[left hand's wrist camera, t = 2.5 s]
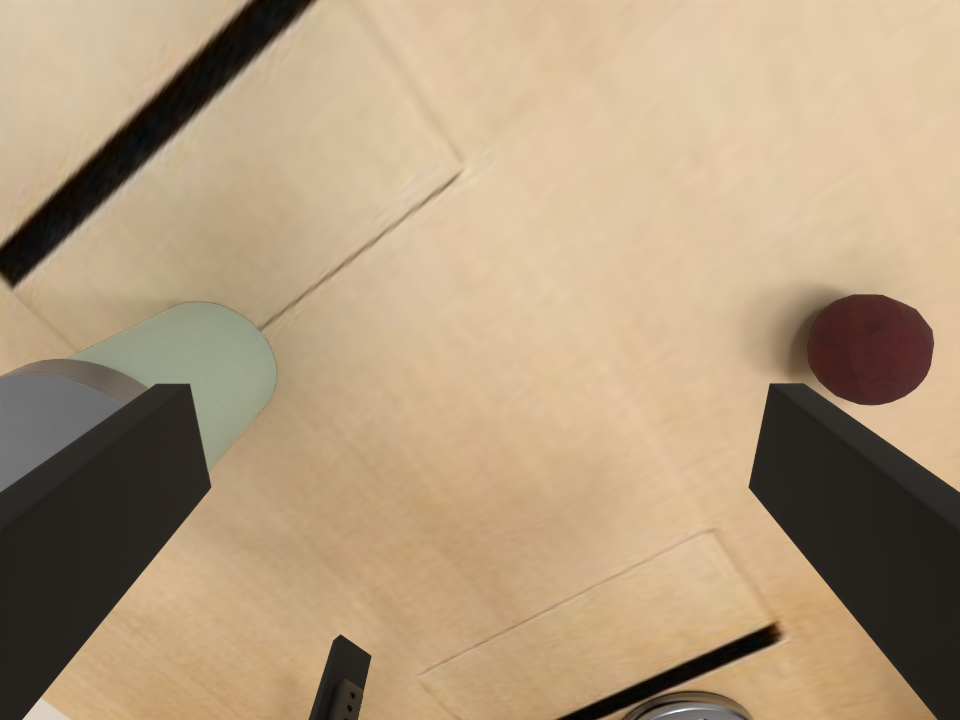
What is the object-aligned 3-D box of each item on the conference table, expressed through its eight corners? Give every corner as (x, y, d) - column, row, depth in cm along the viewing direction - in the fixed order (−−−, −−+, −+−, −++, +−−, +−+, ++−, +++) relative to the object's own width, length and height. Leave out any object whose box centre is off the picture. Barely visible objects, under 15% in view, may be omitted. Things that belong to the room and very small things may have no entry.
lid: (240, 451, 29) (222, 473, 27) (132, 577, 32) (109, 604, 30) (41, 313, 26) (6, 325, 24) (-56, 463, 29) (-96, 486, 27)
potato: (809, 396, 43) (869, 440, 36) (770, 317, 40) (827, 348, 34) (901, 347, 41) (981, 383, 35) (866, 262, 39) (945, 284, 32)
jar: (303, 361, 42) (210, 469, 27) (229, 448, 44) (109, 587, 30) (188, 273, 39) (20, 340, 25) (118, 370, 42) (-71, 480, 28)
